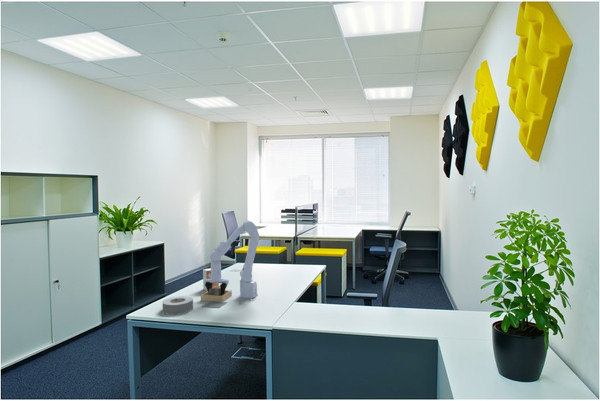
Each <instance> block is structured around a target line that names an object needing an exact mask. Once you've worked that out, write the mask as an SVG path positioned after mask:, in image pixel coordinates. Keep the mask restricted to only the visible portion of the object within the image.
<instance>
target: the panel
mask: <svg viewBox="0 0 600 401" xmlns="http://www.w3.org/2000/svg"><path fill="white" fill-rule="evenodd" d="M227 303H228V302H227V301H223V302H216V301H208V302H207V303H205V304H204V305H202V306H201V307H202V308H211V309H220V308H221V307H223V306H224V305H227Z"/></svg>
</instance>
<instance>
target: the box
mask: <svg viewBox="0 0 600 401" xmlns="http://www.w3.org/2000/svg"><path fill="white" fill-rule="evenodd" d="M209 295H215V296H221V287H220V285H219V286H214V287H212V288H211V289H209Z"/></svg>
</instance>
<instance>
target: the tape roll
mask: <svg viewBox="0 0 600 401" xmlns="http://www.w3.org/2000/svg"><path fill="white" fill-rule="evenodd" d="M193 309H194V298H192V296H187V295H185V296H184V295H183V296H182V295H181V296H173V297H169V298H166V299H164V300H163V301H162V313H163V312H164V314H166V313H168V314H167V315H179V314H178V313H180V314H184V313H188V312H190V311H192V310H193Z"/></svg>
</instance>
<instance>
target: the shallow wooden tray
mask: <svg viewBox="0 0 600 401" xmlns="http://www.w3.org/2000/svg"><path fill="white" fill-rule="evenodd" d="M232 293H233V292H232V290H226V289H225V293H224V295H222V296H215V295H209V293H208V291H205V292H204V293H201V294H200V301H201V302H210V301H215V302H226V301H227V300H228V299H229V298H231V297H232V296H233V294H232Z"/></svg>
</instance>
